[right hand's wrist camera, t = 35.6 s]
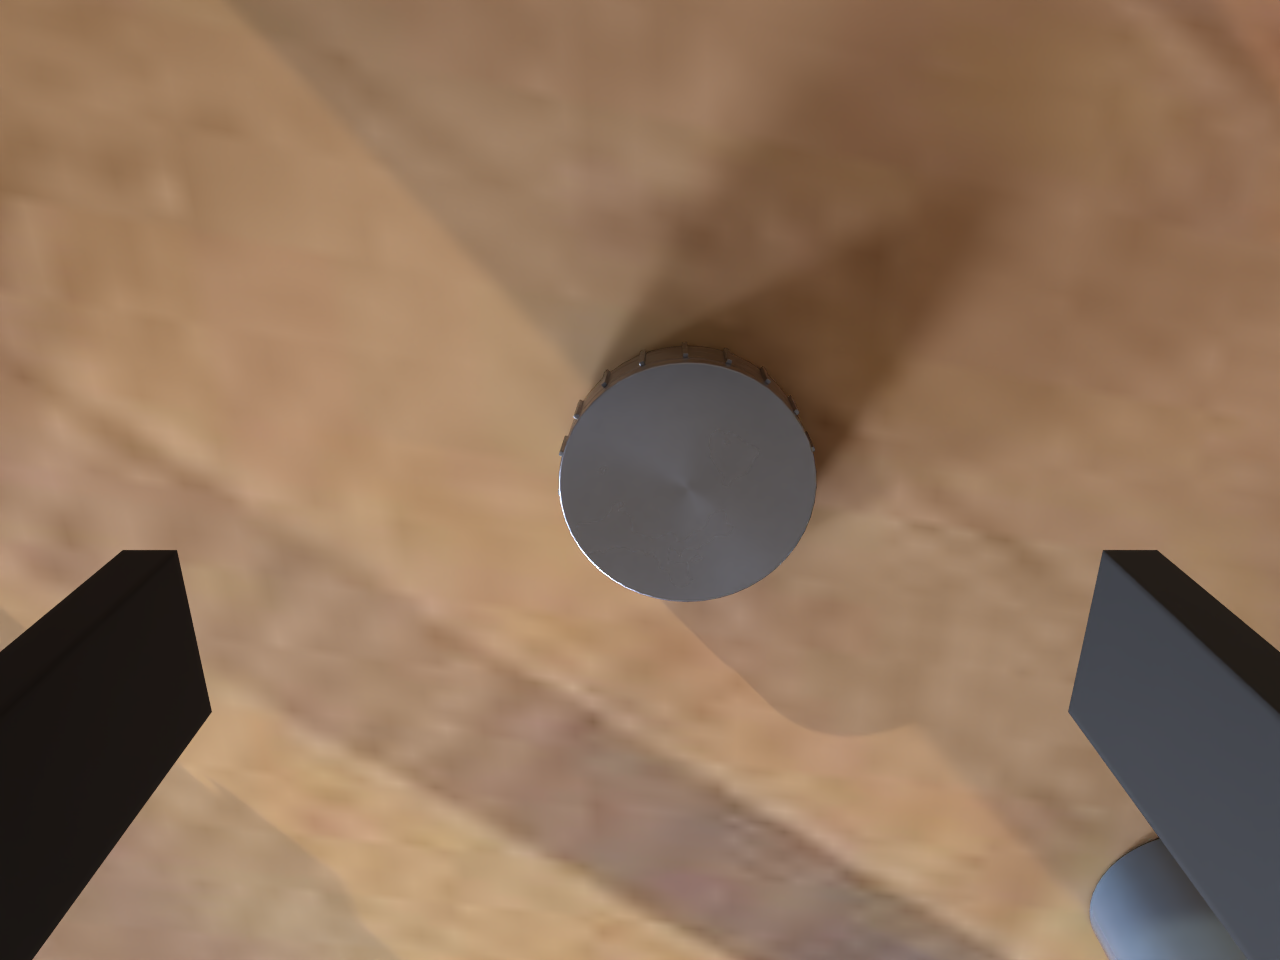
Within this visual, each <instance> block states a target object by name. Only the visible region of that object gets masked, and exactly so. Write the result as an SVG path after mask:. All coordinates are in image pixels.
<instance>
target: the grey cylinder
mask: <svg viewBox="0 0 1280 960" xmlns="http://www.w3.org/2000/svg"><path fill="white" fill-rule="evenodd" d="M1090 921H1091V925H1092V928H1093V931H1094V933H1095V935H1096V937H1097V939H1098V941H1099V943H1100V944H1101V946H1102V948H1103V950H1104V952H1105V954H1106V956H1107V958H1108V959H1109V960H1248V959H1247V958H1246V957H1245V955H1244V954H1243V952H1242V951H1241V950H1240V948H1239V947H1238V946H1237V944H1236V943H1235V941H1234V940H1233V939H1232V937H1231V936H1230V934H1229V933H1228V932H1227V930H1226V929H1225V928H1224V926H1223V925H1222V923H1221V922H1220V921H1219V919H1218V918H1217V917H1216V915H1215V914H1214V912H1213V911H1212V910H1211V908H1210V907H1209V906H1208V904H1207V903H1206V901H1205V900H1204V899H1203V897H1202V896H1201V894H1200V893H1199V892H1198V890H1197V889H1196V888H1195V886H1194V885H1193V883H1192V882H1191V881H1190V879H1189V878H1188V877H1187V875H1186V874H1185V872H1184V871H1183V870H1182V868H1181V867H1180V865H1179V864H1178V863H1177V861H1176V860H1175V859H1174V857H1173V856H1172V854H1171V853H1170V852H1169V850H1168V849H1167V848H1166V846H1165V845H1164V843H1163V842H1162V841H1161V839H1157V840H1154V841H1151V842H1148V843H1146V844H1144V845H1142V846H1139V847H1137V848H1136V849H1134V850H1132V851H1130V852H1129V853H1127V854H1126V855H1124V856H1123V857H1122V858H1120V859H1119V860H1118V861H1116V862H1115V863H1114V864H1113V865H1112V866H1111V867H1110V868H1109V869H1108V870H1107V871H1106V873H1105V874H1104V875H1103V876H1102V878H1101V879H1100V881H1099V882H1098V884H1097V886H1096V888H1095V890H1094V892H1093V895H1092V898H1091V903H1090Z"/></svg>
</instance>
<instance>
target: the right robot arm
mask: <svg viewBox="0 0 1280 960" xmlns="http://www.w3.org/2000/svg"><path fill="white" fill-rule="evenodd" d="M211 712H212V711H211V706H210V701H209V697H208V692H207V687H206V683H205V678H204V674H203V669H202V664H201V660H200V655H199V650H198V646H197V641H196V636H195V632H194V627H193V623H192V618H191V613H190V609H189V604H188V599H187V595H186V590H185V585H184V581H183V576H182V572H181V567H180V562H179V558H178V553H177V550H123V551H121V552H120V553H119V554H118V555H117V556H115V557H114V558H113V559H112V560H111V561H109V562H108V563H107V564H106V565H104V566H103V567H102V568H101V569H100V570H98V571H97V572H96V573H95V574H94V575H92V576H91V577H90V578H89V579H88V580H86V581H85V582H84V583H83V584H82V585H80V586H79V587H78V588H77V589H76V590H74V591H73V592H72V593H71V594H70V595H68V596H67V597H66V598H65V599H64V600H62V601H61V602H60V603H59V604H58V605H56V606H55V607H54V608H53V609H52V610H50V611H49V612H48V613H47V614H45V615H44V616H43V617H42V618H41V619H39V620H38V621H37V622H36V623H35V624H33V625H32V626H31V627H30V628H29V629H27V630H26V631H25V632H24V633H23V634H21V635H20V636H19V637H18V638H17V639H15V640H14V641H13V642H12V643H11V644H9V645H8V646H7V647H6V648H5V649H3V650H2V651H1V652H0V960H32V959H33V958H34V957H35V955H36V954H37V952H38V951H39V950H40V948H41V947H42V946H43V944H44V943H45V941H46V940H47V939H48V937H49V936H50V934H51V933H52V932H53V930H54V929H55V928H56V926H57V925H58V923H59V922H60V921H61V919H62V918H63V917H64V915H65V914H66V912H67V911H68V910H69V908H70V907H71V905H72V904H73V903H74V901H75V900H76V899H77V897H78V896H79V894H80V893H81V892H82V890H83V889H84V888H85V886H86V885H87V883H88V882H89V881H90V879H91V878H92V877H93V875H94V874H95V872H96V871H97V870H98V868H99V867H100V865H101V864H102V863H103V861H104V860H105V859H106V857H107V856H108V854H109V853H110V852H111V850H112V849H113V848H114V846H115V845H116V843H117V842H118V841H119V839H120V838H121V836H122V835H123V834H124V832H125V831H126V830H127V828H128V827H129V825H130V824H131V823H132V821H133V820H134V819H135V817H136V816H137V814H138V813H139V812H140V810H141V809H142V807H143V806H144V805H145V803H146V802H147V801H148V799H149V798H150V796H151V795H152V794H153V792H154V791H155V790H156V788H157V787H158V785H159V784H160V783H161V781H162V780H163V778H164V777H165V776H166V774H167V773H168V772H169V770H170V769H171V767H172V766H173V765H174V763H175V762H176V761H177V759H178V758H179V756H180V755H181V754H182V752H183V751H184V749H185V748H186V747H187V745H188V744H189V743H190V741H191V740H192V738H193V737H194V736H195V734H196V733H197V732H198V730H199V729H200V727H201V726H202V725H203V723H204V722H205V721H206V719H207V718H208V716H209V715H210V714H211ZM1068 712H1069V714H1070V715H1071V716H1072V718H1073V719H1074V721H1075V722H1076V723H1077V725H1078V726H1079V727H1080V729H1081V730H1082V732H1083V733H1084V734H1085V736H1086V737H1087V738H1088V740H1089V741H1090V743H1091V744H1092V745H1093V747H1094V748H1095V749H1096V751H1097V752H1098V754H1099V755H1100V756H1101V758H1102V759H1103V761H1104V762H1105V763H1106V765H1107V766H1108V767H1109V769H1110V770H1111V772H1112V773H1113V774H1114V776H1115V777H1116V778H1117V780H1118V781H1119V783H1120V784H1121V785H1122V787H1123V788H1124V790H1125V791H1126V792H1127V794H1128V795H1129V796H1130V798H1131V799H1132V801H1133V802H1134V803H1135V805H1136V806H1137V807H1138V809H1139V810H1140V812H1141V813H1142V814H1143V816H1144V817H1145V819H1146V820H1147V821H1148V823H1149V824H1150V825H1151V827H1152V828H1153V830H1154V831H1155V832H1156V834H1157V835H1158V836H1159V838H1160V839H1161V841H1162V842H1163V843H1164V845H1165V846H1166V848H1167V849H1168V850H1169V852H1170V853H1171V854H1172V856H1173V857H1174V859H1175V860H1176V861H1177V863H1178V864H1179V865H1180V867H1181V868H1182V870H1183V871H1184V872H1185V874H1186V875H1187V877H1188V878H1189V879H1190V881H1191V882H1192V883H1193V885H1194V886H1195V888H1196V889H1197V890H1198V892H1199V893H1200V894H1201V896H1202V897H1203V899H1204V900H1205V901H1206V903H1207V904H1208V906H1209V907H1210V908H1211V910H1212V911H1213V912H1214V914H1215V915H1216V917H1217V918H1218V919H1219V921H1220V922H1221V923H1222V925H1223V926H1224V928H1225V929H1226V930H1227V932H1228V933H1229V934H1230V936H1231V937H1232V939H1233V940H1234V941H1235V943H1236V944H1237V946H1238V947H1239V948H1240V950H1241V951H1242V952H1243V954H1244V955H1245V957H1246V958H1247V959H1248V960H1280V652H1279V651H1278V650H1277V649H1275V648H1274V647H1273V646H1272V645H1271V644H1269V643H1268V642H1267V641H1266V640H1265V639H1263V638H1262V637H1261V636H1260V635H1259V634H1257V633H1256V632H1255V631H1254V630H1253V629H1251V628H1250V627H1249V626H1248V625H1247V624H1245V623H1244V622H1243V621H1242V620H1241V619H1239V618H1238V617H1237V616H1236V615H1234V614H1233V613H1232V612H1231V611H1230V610H1228V609H1227V608H1226V607H1225V606H1224V605H1222V604H1221V603H1220V602H1219V601H1218V600H1216V599H1215V598H1214V597H1213V596H1212V595H1210V594H1209V593H1208V592H1207V591H1206V590H1204V589H1203V588H1202V587H1201V586H1200V585H1198V584H1197V583H1196V582H1195V581H1194V580H1192V579H1191V578H1190V577H1189V576H1188V575H1186V574H1185V573H1184V572H1183V571H1182V570H1180V569H1179V568H1178V567H1177V566H1176V565H1174V564H1173V563H1172V562H1171V561H1169V560H1168V559H1167V558H1166V557H1165V556H1163V555H1162V554H1161V553H1160V552H1159V551H1157V550H1103V553H1102V558H1101V562H1100V567H1099V572H1098V576H1097V581H1096V585H1095V590H1094V595H1093V599H1092V604H1091V609H1090V613H1089V618H1088V623H1087V627H1086V632H1085V636H1084V641H1083V646H1082V650H1081V655H1080V660H1079V664H1078V669H1077V674H1076V678H1075V683H1074V687H1073V692H1072V697H1071V701H1070V706H1069V711H1068Z"/></svg>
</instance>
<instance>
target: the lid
mask: <svg viewBox="0 0 1280 960" xmlns="http://www.w3.org/2000/svg"><path fill="white" fill-rule="evenodd" d="M799 413H800V412H799V410H798V408H797V406H796V404H795V402H794V400H793V398H792V397H791V396H789V397H787V396H786V394H785V393H784V392H783V391H782V389H781V388H780V387H779V386H778V385H777V384H776V383H775V381H774V380H772V379H771V378H770V377H769V375H768V373H767V371H766V369H765V368H764V367H763V366H762V367H761V368H760V369H759V368H757V367H756V366H754V365H753V364H751V363H750V362H748V361H746V360H744V359H742V358H740V357H738V356H735V355H733V354H730V351H729V349H727V348H724V350H723V351H721V350H717V349H712V348H706V347H697V346H687V342H682V346H678V347H668V348H663V349H658V350H653V351H650V352H647V353H646V351H645V350H642V351H640V355H639V356H636V357H634V358H632V359H630V360H628V361H627V362H625V363H623V364H621V365H620V366H618V367H617V368H615V369H614V370H612V371H611V372H610V371H609V370H606V371H605V372H604V375H603V379H602V380H601V381H599V382H598V383H597V384H596V386H595V387H594V388H593V389H592V390H591V392H590V393H589V394H588V395H587V397H586V398H585V400H584V401H582V400H580V401H579V402H578V405H577V408H576V411H575V414H574V420H573V423H572V426H571V429H570V432H569V435H568V436H565V437H564V440H563V443H562V446H561V449H560V453H559V455H560V456H562V458H561V464H560V471H559V490H558V493H559V495H560V502H561V507H562V511H563V514H564V518H565V521H566V523H567V526H568V528H569V530H570V533H571V535H572V536H573V538H574V540H575V541H576V543H577V545H578V546H579V548H580V549H581V550H582V552H583V553H584V554H585V555H586V557H587V558H588V559H589V560H590V561H591V562H592V563H593V564H594V565H595V566H596V567H597V568H598V569H599V570H600V571H602V572H603V573H604V574H605V575H607V576H608V577H609V578H611V579H612V580H614V581H615V582H617V583H619V584H621V585H622V586H624V587H626V588H628V589H630V590H633V591H635V592H637V593H640V594H643V595H646V596H650V597H653V598H657V599H663V600H669V601H682V602H692V601H705V600H710V599H716V598H721V597H724V596H727V595H730V594H734V593H736V592H738V591H741V590H743V589H745V588H748V587H750V586H751V585H753V584H755V583H756V582H758V581H760V580H762V579H763V578H764V577H766V576H767V575H768V574H770V573H771V572H772V571H773V570H775V569H776V568H777V567H778V566H779V565H780V564H781V563H782V562H783V561H784V560H785V559H786V558H787V557H788V555H789V554H790V553H791V552H792V550H793V549H794V548H795V547H796V545H797V544H798V542H799V540H800V538H801V537H802V535H803V533H804V532H805V529H806V527H807V525H808V522H809V520H810V517H811V514H812V510H813V506H814V503H815V495H816V488H817V487H816V466H815V460H814V455H813V451H815V448H814V445H813V443H812V441H811V439H810V437H809V435H808V433H807V431H806V432H805V430H804V428H803V426H802V424H801V422H800V420H799V418H798V415H797V414H799Z"/></svg>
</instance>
